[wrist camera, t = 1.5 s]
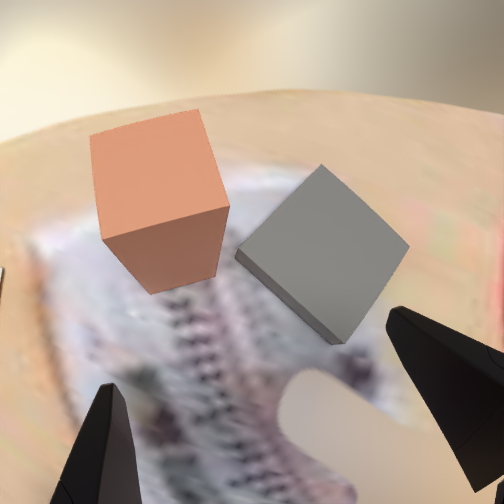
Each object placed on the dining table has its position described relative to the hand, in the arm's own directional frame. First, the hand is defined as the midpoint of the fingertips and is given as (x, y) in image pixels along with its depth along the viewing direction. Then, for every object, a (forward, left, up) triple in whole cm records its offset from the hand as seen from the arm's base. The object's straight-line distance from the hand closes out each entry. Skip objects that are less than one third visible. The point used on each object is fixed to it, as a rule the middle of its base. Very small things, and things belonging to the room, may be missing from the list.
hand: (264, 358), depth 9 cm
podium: (+11, -1, -14) cm, 18 cm away
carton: (+3, +8, -14) cm, 16 cm away
